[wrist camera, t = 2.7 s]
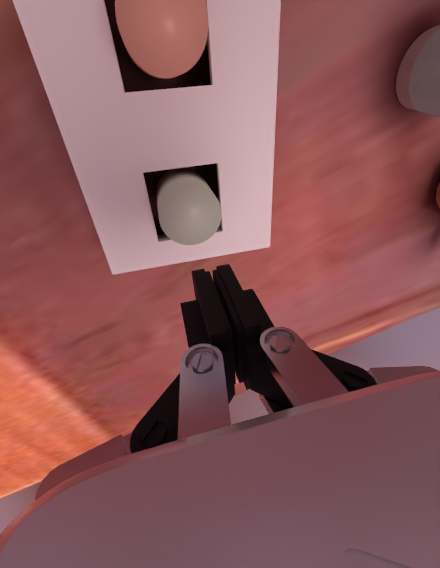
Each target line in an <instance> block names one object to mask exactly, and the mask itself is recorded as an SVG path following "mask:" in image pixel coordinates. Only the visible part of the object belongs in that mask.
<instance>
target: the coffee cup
mask: <svg viewBox="0 0 440 568" xmlns="http://www.w3.org/2000/svg"><path fill="white" fill-rule="evenodd" d="M396 94H397V97H398V100H399V102H400V103H401V104H402V106H404V107H405V108H407V109H411V110H415V111H418V112H422V113H426V114H430V115H433V116H437V117H440V25H438V26H435V27H432V28H430V29H428V30H427V31H425V32H424V33H422V34H421V35H420V36H419V37H418V38H417V39H416V40H415V41H414V42H413V43H412V45H411V46H410V47H409V49H408V50H407V52H406V54H405V55H404V57H403V59H402V62H401V64H400V67H399V70H398V73H397V78H396Z"/></svg>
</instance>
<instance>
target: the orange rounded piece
mask: <svg viewBox="0 0 440 568" xmlns="http://www.w3.org/2000/svg"><path fill="white" fill-rule="evenodd" d="M115 14H116V20H117V25H118V29H119V32H120V35H121V37H122V40H123V42H124V45H125V47H126V49H127V52H128V54H129V56H130V57H131V59H132V61H133V62H134V63H135V65H136V66H137V67H138V68H139V69H140V70H141V71H142V72H144V73H145V74H147V75H148V76H150V77H152V78H155V79H160V80H167V79H171V78H174V77H177V76H179V75H182V74H184V73H185V72H187V71H188V70H190V69H191V68H192V67H193V66H194V65H195V64H196V63H197V61H198V60H199V58H200V57H201V55H202V53H203V50H204V48H205V44H206V41H207V35H208V11H207V6H206V1H205V0H115Z"/></svg>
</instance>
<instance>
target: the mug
mask: <svg viewBox="0 0 440 568" xmlns="http://www.w3.org/2000/svg"><path fill="white" fill-rule="evenodd" d="M436 202H437V205H438V207H439V209H440V183H439V185H438V187H437V193H436Z"/></svg>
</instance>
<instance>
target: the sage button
mask: <svg viewBox="0 0 440 568" xmlns="http://www.w3.org/2000/svg"><path fill="white" fill-rule="evenodd" d="M156 199H157V207H158V216H159V222H160V226H161V228H162V230H163V232H164V233H165V234H166V235H167V236H168V237H169V238H170V239H171V240H173V241H175V242H177V243H179V244H183V245H196V244H200V243H202V242H204V241H206V240H208V239H209V238H210V237H212V236H213V235H214V233H215V232H216V231H217V229H218V227H219V225H220V222H221V216H222V212H221V206H220V203H219V201H218V199H217V198H216V196H215V195H214V193H213V192H212V190H211V189H210V187H209V186H208V184H207V183H206V181H205V180H204V178H203V177H202V176H201V175H200V174H199V173H198V172H196V171H195V170H193V169H190V168H186V167H183V168H176V169H171V170H169V171H168V172H166V173H165V174H164V175H163V176H162V177H161V178H160V180H159V182H158V184H157V188H156Z"/></svg>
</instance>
